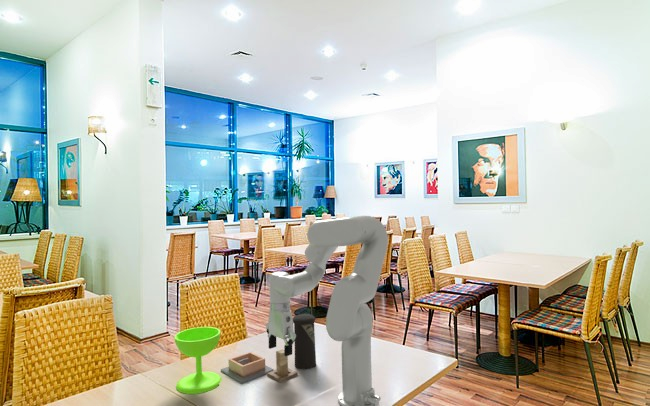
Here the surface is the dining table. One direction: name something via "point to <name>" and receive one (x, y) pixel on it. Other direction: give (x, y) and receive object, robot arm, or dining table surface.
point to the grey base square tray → (246, 367)
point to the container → (304, 341)
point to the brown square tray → (280, 379)
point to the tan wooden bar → (281, 363)
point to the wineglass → (198, 358)
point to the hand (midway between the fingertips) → (280, 351)
